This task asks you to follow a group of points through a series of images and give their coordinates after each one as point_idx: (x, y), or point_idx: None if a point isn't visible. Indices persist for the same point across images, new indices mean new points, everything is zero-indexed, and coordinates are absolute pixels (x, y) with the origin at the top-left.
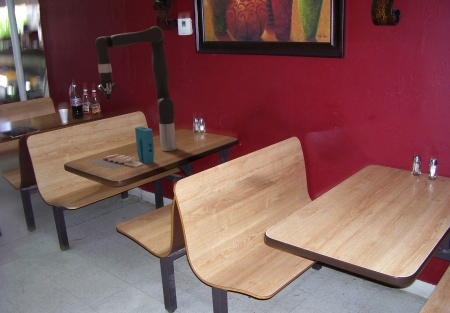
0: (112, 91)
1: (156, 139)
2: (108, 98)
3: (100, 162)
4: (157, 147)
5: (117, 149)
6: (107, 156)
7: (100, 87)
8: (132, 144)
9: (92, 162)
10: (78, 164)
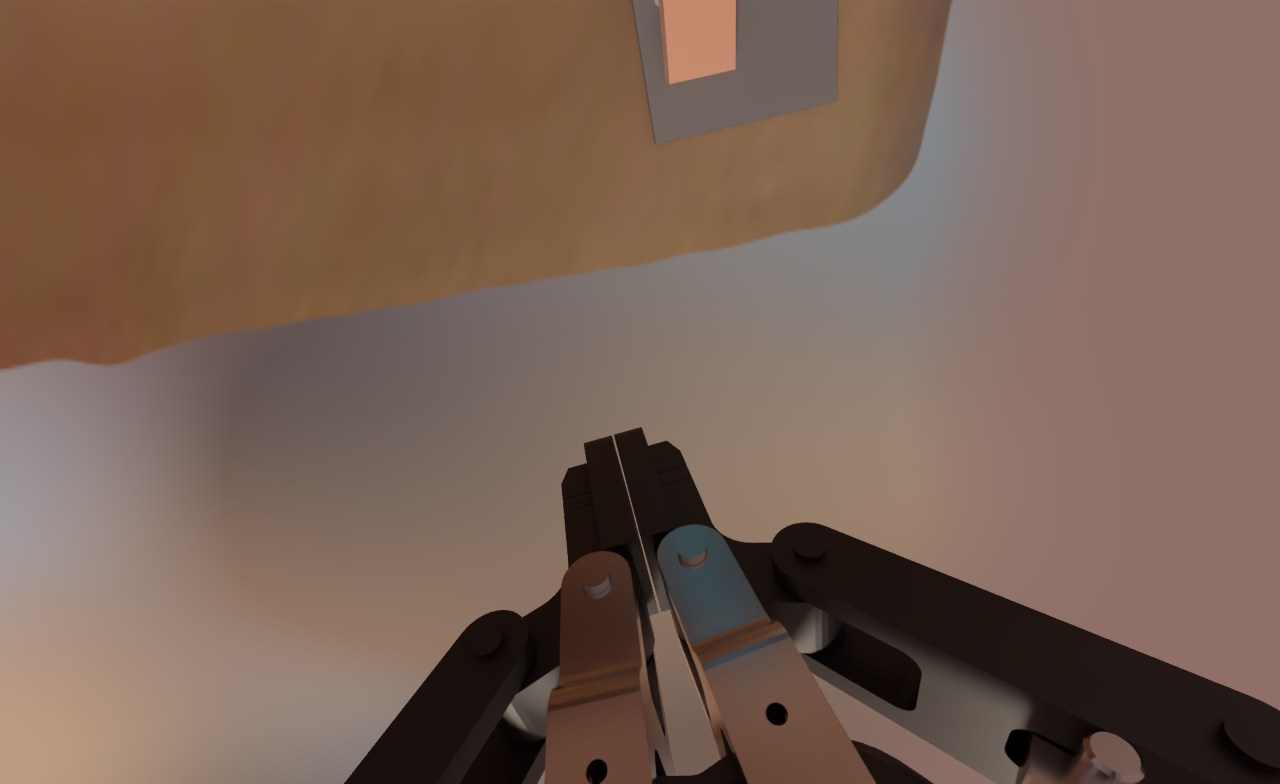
0: (475, 643)
1: (62, 300)
2: (648, 450)
3: (781, 8)
4: (129, 18)
5: (497, 267)
6: (700, 49)
7: (1271, 725)
8: (336, 309)
9: (812, 69)
10: (875, 129)
